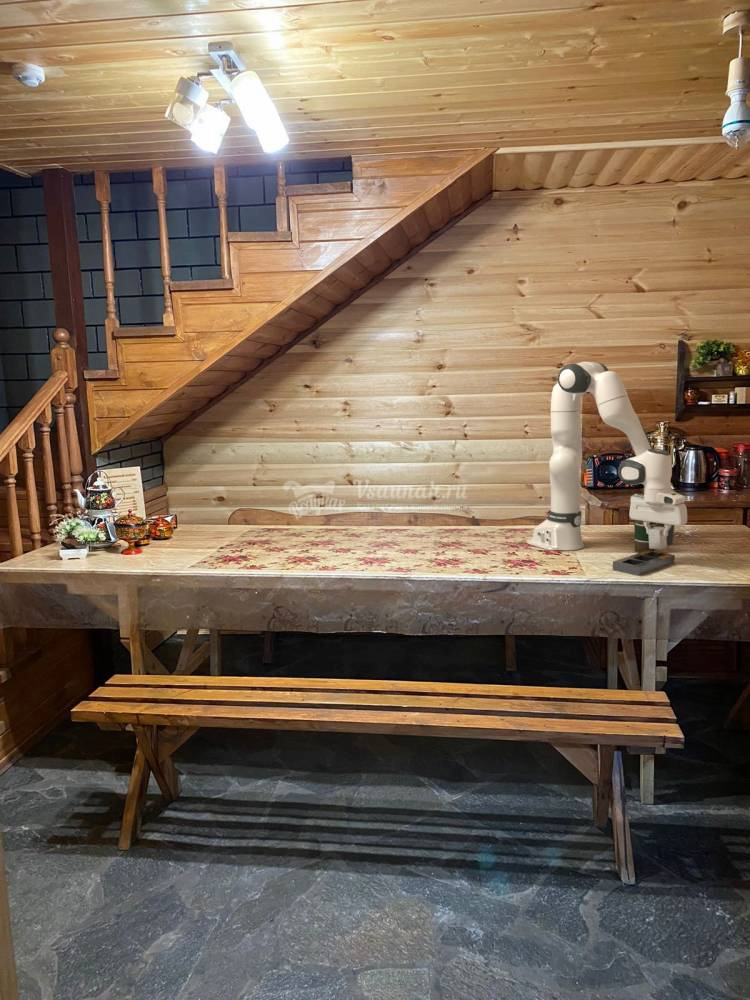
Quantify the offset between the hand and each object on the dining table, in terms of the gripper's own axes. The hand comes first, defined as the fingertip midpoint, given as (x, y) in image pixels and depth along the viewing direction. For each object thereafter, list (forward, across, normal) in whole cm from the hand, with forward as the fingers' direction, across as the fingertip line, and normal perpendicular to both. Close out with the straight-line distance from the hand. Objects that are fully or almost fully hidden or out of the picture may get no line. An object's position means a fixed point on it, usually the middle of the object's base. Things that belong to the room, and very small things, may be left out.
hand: (657, 534), depth 256 cm
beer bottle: (+11, -12, +13) cm, 21 cm away
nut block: (+5, 0, 0) cm, 5 cm away
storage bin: (+11, -19, +30) cm, 37 cm away
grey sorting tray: (+10, 0, -7) cm, 13 cm away
